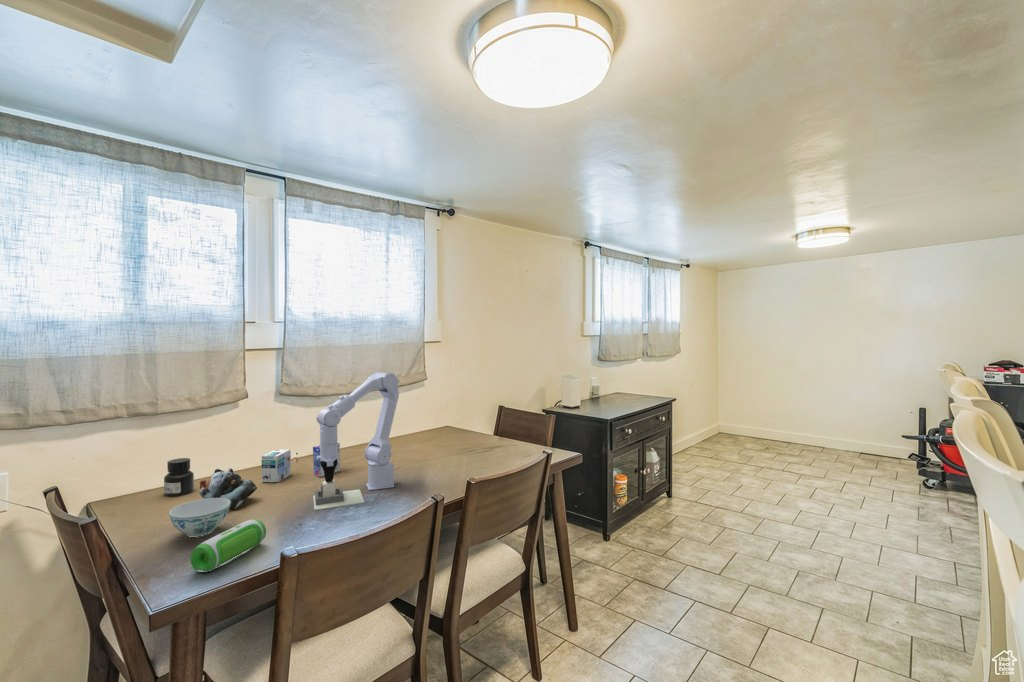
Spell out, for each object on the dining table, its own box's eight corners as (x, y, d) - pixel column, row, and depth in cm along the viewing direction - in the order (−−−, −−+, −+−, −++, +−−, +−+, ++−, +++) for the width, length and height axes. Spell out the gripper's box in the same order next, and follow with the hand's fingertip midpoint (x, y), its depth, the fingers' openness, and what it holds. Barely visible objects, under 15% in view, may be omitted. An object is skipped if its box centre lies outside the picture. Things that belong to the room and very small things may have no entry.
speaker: (246, 542, 129) (246, 515, 129) (268, 545, 127) (267, 518, 127) (188, 573, 112) (188, 543, 112) (212, 577, 110) (212, 546, 110)
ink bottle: (158, 494, 167) (158, 461, 167) (185, 487, 175) (184, 455, 175) (172, 498, 162) (172, 465, 162) (199, 491, 170) (199, 459, 170)
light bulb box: (277, 483, 179) (277, 456, 179) (260, 483, 180) (260, 455, 179) (291, 474, 190) (291, 449, 190) (275, 474, 190) (275, 449, 190)
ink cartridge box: (333, 469, 198) (332, 436, 197) (341, 471, 195) (341, 437, 194) (312, 475, 189) (312, 440, 189) (320, 477, 186) (320, 442, 186)
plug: (334, 496, 163) (334, 479, 163) (335, 500, 160) (335, 483, 160) (320, 498, 162) (320, 481, 161) (321, 502, 158) (321, 484, 158)
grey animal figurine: (230, 514, 148) (205, 479, 146) (208, 522, 153) (184, 489, 151) (265, 486, 162) (243, 454, 160) (244, 495, 166) (222, 464, 164)
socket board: (359, 490, 171) (359, 483, 171) (364, 503, 158) (364, 496, 158) (313, 497, 164) (313, 490, 164) (314, 510, 151) (314, 503, 151)
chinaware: (162, 548, 125) (161, 520, 125) (177, 527, 139) (177, 502, 138) (225, 538, 131) (225, 512, 131) (234, 519, 145) (234, 495, 144)
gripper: (315, 439, 165) (316, 476, 166) (317, 449, 152) (317, 489, 152) (336, 438, 168) (336, 474, 169) (339, 446, 155) (339, 486, 155)
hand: (329, 481), depth 161 cm, fingers closed
